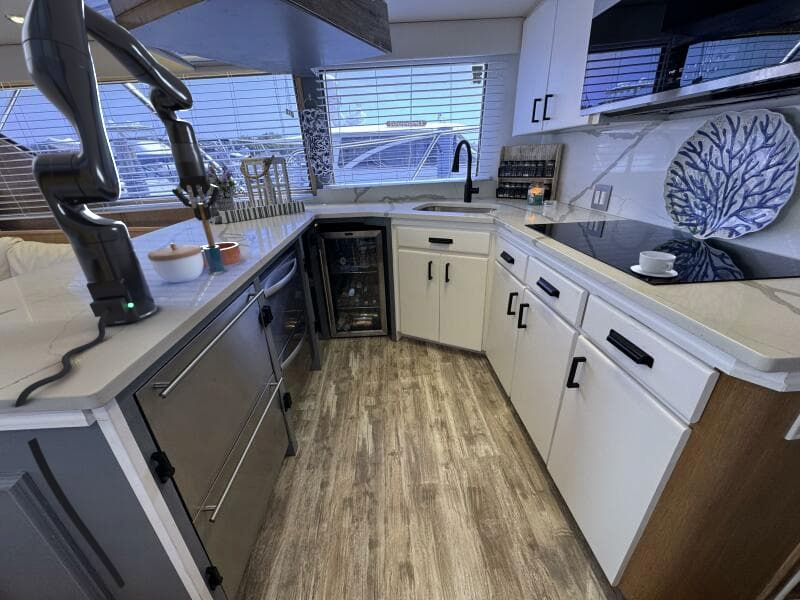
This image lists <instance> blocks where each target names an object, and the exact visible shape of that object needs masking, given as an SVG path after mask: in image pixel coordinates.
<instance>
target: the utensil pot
mask: <svg viewBox="0 0 800 600" xmlns="http://www.w3.org/2000/svg"><path fill="white" fill-rule="evenodd" d="M203 251H204V255H205V258H206V262H207V265H208V267H207V269H208V271H209V272H210V273H218V272H222V271H224V270H225V269H226V268H225V266H224V264H223V260H222V256H221V252H220V249H219V246H216V245H214V246H207V247H204V248H203Z"/></svg>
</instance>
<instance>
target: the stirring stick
mask: <svg viewBox="0 0 800 600" xmlns="http://www.w3.org/2000/svg"><path fill="white" fill-rule="evenodd" d="M197 205H198V209H199V212H200V216H201V219H202V220H201V223H202V226H203V227H202V228H203V230H204V234H205V237H206V240H207V241H206V242H207V245H209V246H214V245H215V240H214V239H215V238H214V236H213V233H212V229H211V228H212V227H211V225H210V220H207V219H206V216H205V212H204V206H203V203H200V202H199V203H198V204H197Z"/></svg>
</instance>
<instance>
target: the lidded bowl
mask: <svg viewBox="0 0 800 600" xmlns="http://www.w3.org/2000/svg"><path fill="white" fill-rule="evenodd" d="M169 245H170V246H167V247H164V248H159V249H155V250H152V251H150V252H149V253H147V258H148V260H149V262H150V265H151V267H152V269H153V270H154V273H156V275H157V276H158V277H159V278H160V279H161V280H163V281H164V282H167V283H169V284H180V283H188V282H190V281H194V280H196V279H198V278H200V276H201V275H202V273H203V271H204V268H205V267H204V261H203V256H202V252H201V247H202V246H200V245H197V244H184V245H183V244H182V245H177V244H176V243H175V242H170V243H169Z"/></svg>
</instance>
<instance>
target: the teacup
mask: <svg viewBox="0 0 800 600" xmlns="http://www.w3.org/2000/svg"><path fill="white" fill-rule="evenodd" d="M676 258H677V256H675V254H672V253H667V252H663V251H662V252H661V251H642V252H640V253H639V259H638V261H639V262H638V263H639V264H636V265H632V266H630V270H631V271H633V272H634V273H638V274H640V275H644V276H651V277H659V278H671V277H672V278H673V277H676V276H678V275H679V273H678V272H677V271H676V270H674V269H673V268H674V263H675V261H676Z"/></svg>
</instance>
